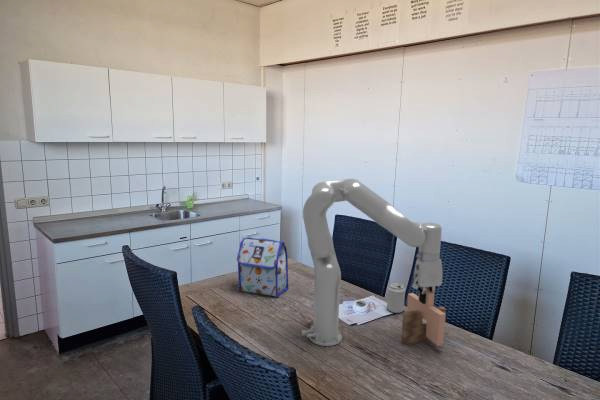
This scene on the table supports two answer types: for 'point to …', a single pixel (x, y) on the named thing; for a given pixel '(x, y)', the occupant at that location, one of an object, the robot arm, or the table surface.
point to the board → (414, 327)
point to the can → (396, 298)
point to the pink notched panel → (429, 316)
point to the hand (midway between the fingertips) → (425, 301)
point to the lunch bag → (262, 266)
